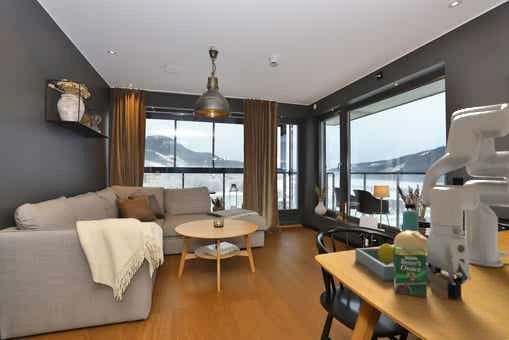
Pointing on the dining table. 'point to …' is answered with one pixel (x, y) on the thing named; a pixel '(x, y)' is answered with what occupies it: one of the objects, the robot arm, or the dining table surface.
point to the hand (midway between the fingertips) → (445, 292)
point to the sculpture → (411, 240)
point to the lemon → (386, 253)
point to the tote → (378, 264)
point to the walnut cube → (440, 284)
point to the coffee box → (410, 271)
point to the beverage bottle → (410, 218)
